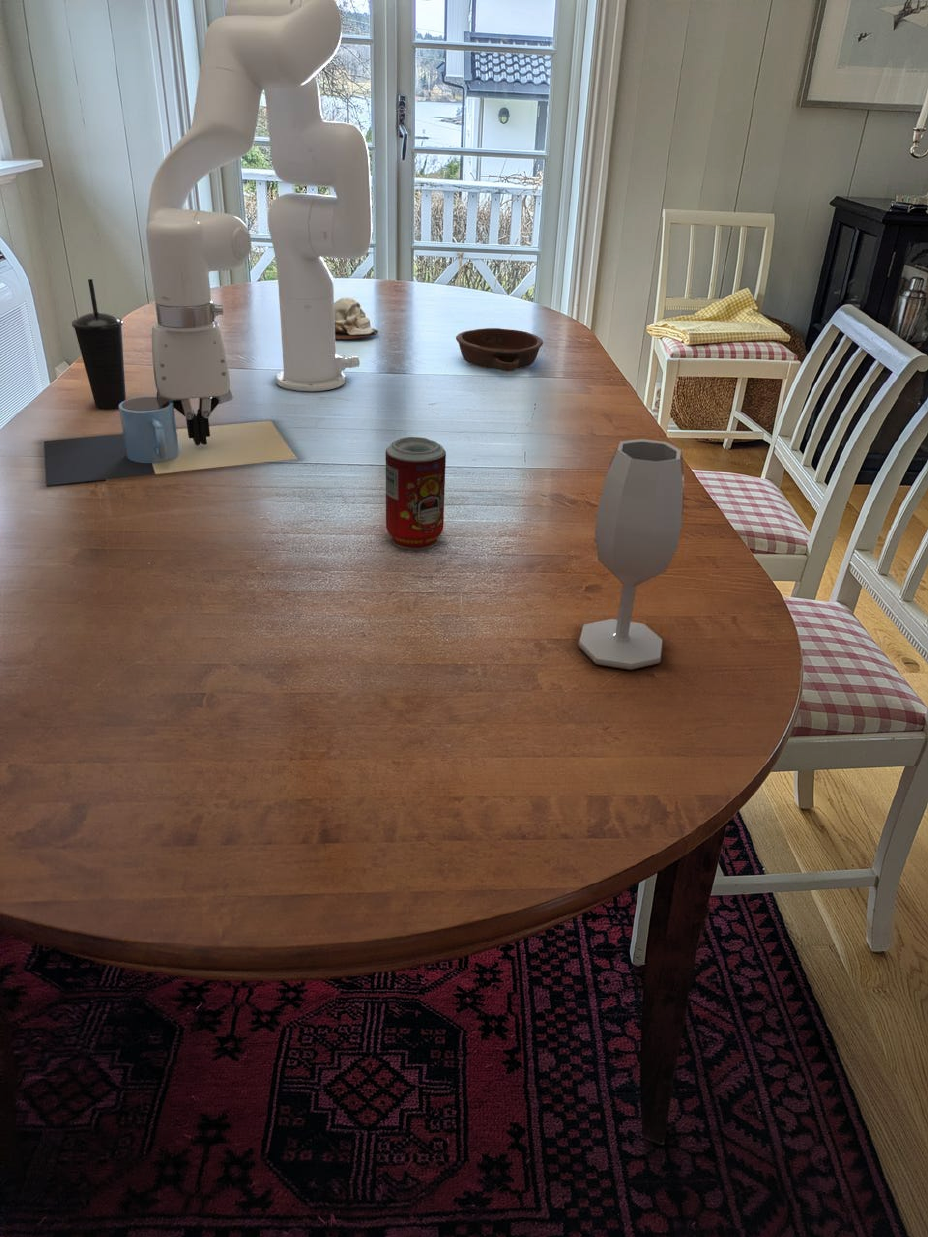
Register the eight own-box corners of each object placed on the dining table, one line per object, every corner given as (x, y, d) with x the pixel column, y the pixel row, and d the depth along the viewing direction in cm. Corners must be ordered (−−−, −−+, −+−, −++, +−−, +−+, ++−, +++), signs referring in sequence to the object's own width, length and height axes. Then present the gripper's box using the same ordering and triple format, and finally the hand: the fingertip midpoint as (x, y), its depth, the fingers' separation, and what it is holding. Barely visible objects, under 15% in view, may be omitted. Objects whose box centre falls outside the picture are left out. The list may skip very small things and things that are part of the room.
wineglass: (569, 626, 95) (591, 433, 84) (650, 625, 96) (682, 433, 85) (586, 673, 88) (612, 467, 77) (674, 671, 88) (712, 468, 78)
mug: (121, 450, 133) (113, 399, 129) (171, 442, 137) (165, 393, 133) (139, 474, 126) (131, 421, 122) (192, 465, 129) (186, 414, 125)
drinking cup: (120, 414, 148) (99, 285, 137) (77, 409, 149) (53, 282, 139) (143, 400, 154) (125, 276, 144) (102, 396, 155) (81, 273, 145)
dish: (461, 378, 173) (461, 351, 170) (450, 348, 192) (450, 324, 189) (550, 378, 175) (553, 352, 172) (531, 349, 194) (533, 325, 191)
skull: (391, 327, 201) (373, 297, 191) (371, 366, 199) (352, 337, 189) (348, 317, 206) (328, 287, 196) (327, 355, 203) (306, 326, 194)
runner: (270, 421, 147) (270, 420, 147) (297, 459, 133) (297, 458, 133) (44, 442, 135) (43, 441, 135) (46, 486, 121) (46, 485, 121)
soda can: (411, 557, 107) (411, 459, 101) (374, 537, 112) (373, 441, 105) (455, 541, 111) (458, 446, 105) (418, 522, 116) (419, 430, 110)
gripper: (234, 306, 131) (245, 429, 141) (125, 312, 126) (144, 438, 135) (244, 318, 126) (255, 445, 135) (131, 324, 120) (150, 455, 130)
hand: (199, 441), depth 135 cm, fingers closed
